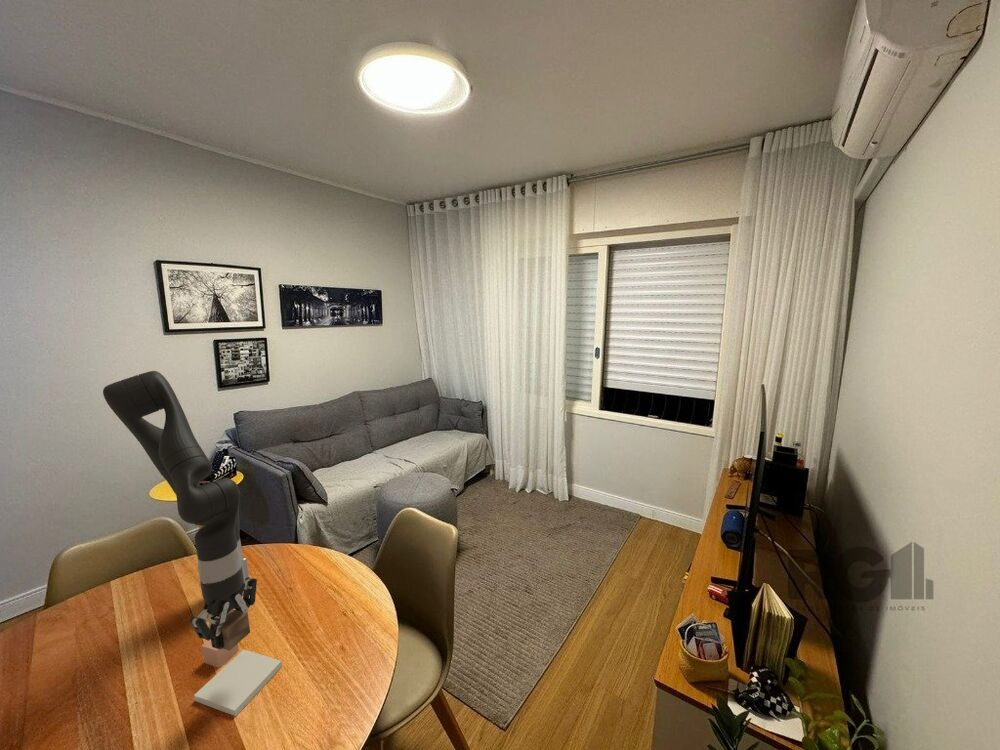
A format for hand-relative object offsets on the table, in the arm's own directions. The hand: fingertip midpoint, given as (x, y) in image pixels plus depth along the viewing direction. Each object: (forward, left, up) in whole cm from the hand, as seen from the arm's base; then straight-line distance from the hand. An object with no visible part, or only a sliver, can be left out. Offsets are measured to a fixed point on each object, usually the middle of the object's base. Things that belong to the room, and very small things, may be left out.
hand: (231, 636), depth 86 cm
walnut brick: (0, 0, 0) cm, 0 cm away
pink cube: (-4, -11, -13) cm, 17 cm away
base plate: (0, 0, -13) cm, 13 cm away
